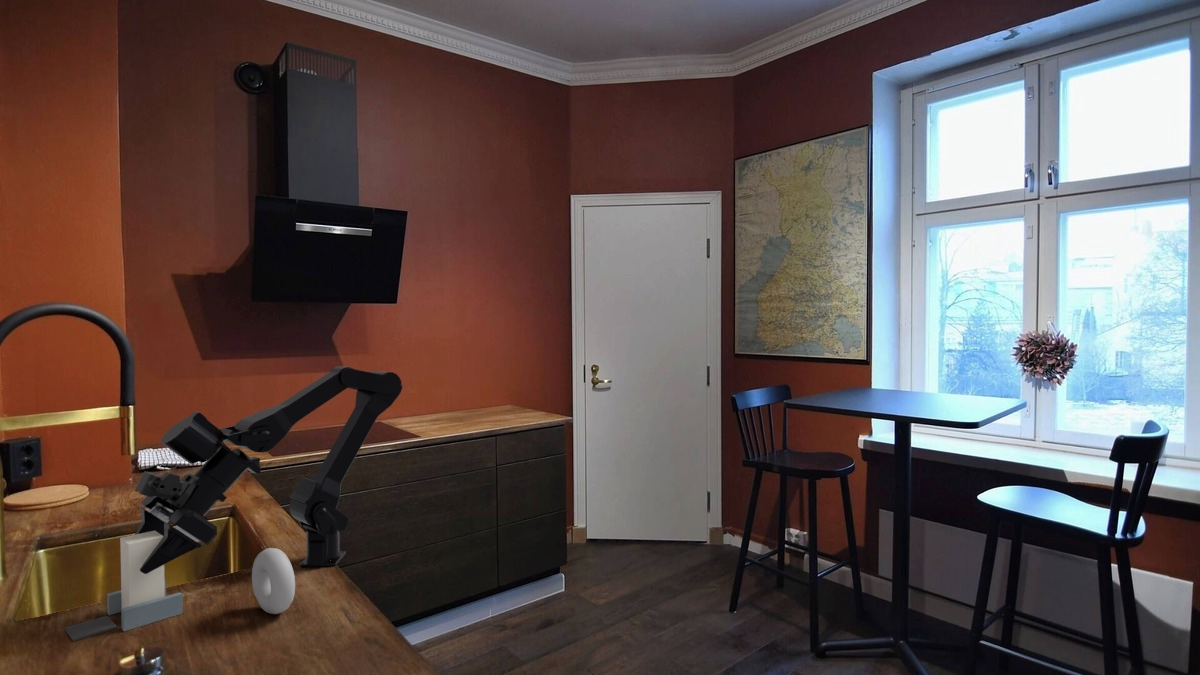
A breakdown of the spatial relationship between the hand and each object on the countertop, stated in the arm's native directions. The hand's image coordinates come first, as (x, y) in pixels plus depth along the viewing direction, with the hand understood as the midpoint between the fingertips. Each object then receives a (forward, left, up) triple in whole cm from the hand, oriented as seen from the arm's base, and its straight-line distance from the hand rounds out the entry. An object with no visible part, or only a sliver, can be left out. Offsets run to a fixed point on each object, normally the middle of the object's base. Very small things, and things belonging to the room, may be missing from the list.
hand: (133, 565), depth 96 cm
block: (-1, +1, -8) cm, 8 cm away
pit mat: (+4, -4, -8) cm, 9 cm away
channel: (-1, +1, -8) cm, 8 cm away
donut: (+1, +21, -8) cm, 23 cm away
